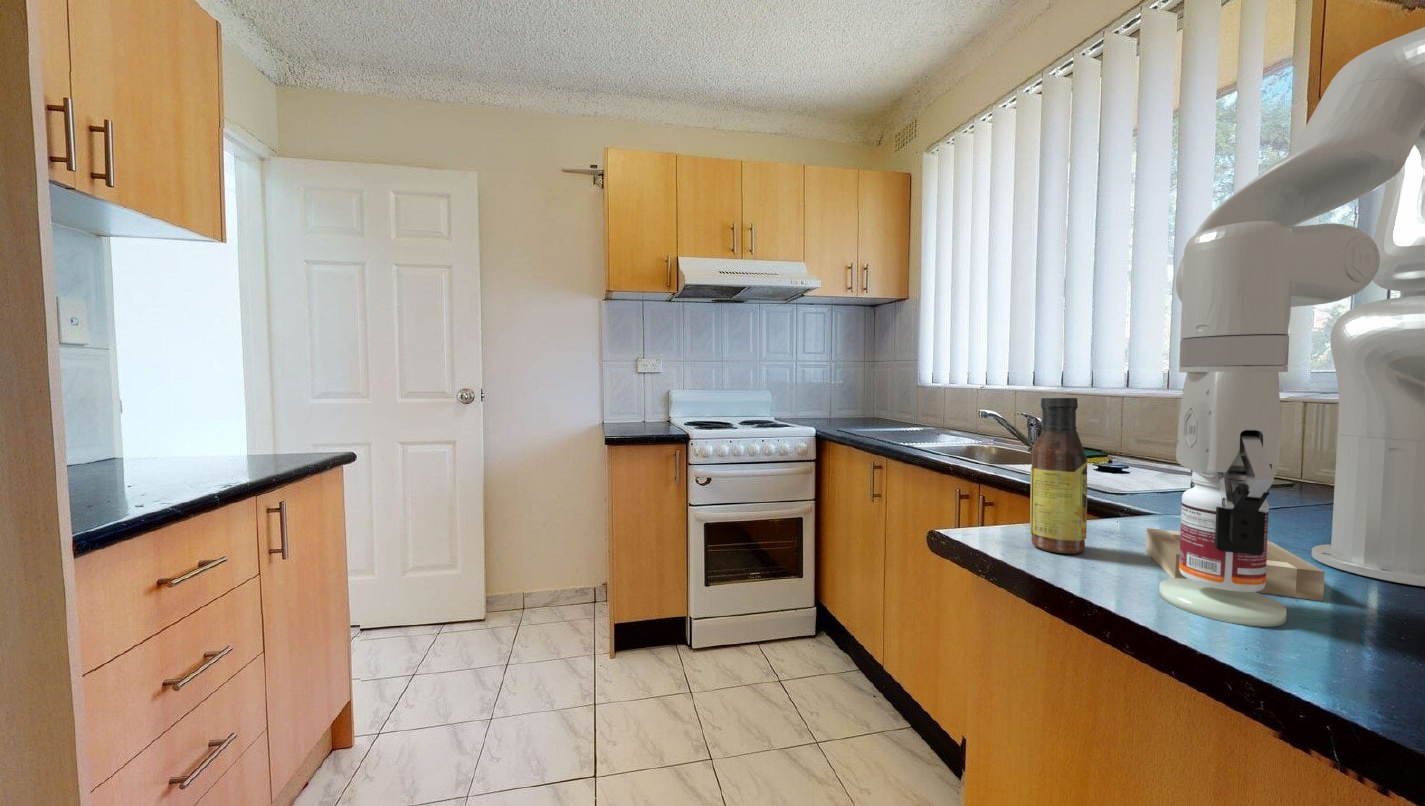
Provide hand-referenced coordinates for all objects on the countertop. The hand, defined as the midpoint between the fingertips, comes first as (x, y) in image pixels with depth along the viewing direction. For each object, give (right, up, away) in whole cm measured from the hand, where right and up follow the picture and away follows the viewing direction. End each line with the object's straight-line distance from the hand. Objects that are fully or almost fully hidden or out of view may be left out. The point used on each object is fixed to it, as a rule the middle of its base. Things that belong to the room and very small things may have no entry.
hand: (1223, 540), depth 52 cm
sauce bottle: (-5, -6, +18) cm, 20 cm away
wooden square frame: (+9, -6, +9) cm, 14 cm away
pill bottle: (0, -4, 0) cm, 4 cm away
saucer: (0, -6, 0) cm, 7 cm away
